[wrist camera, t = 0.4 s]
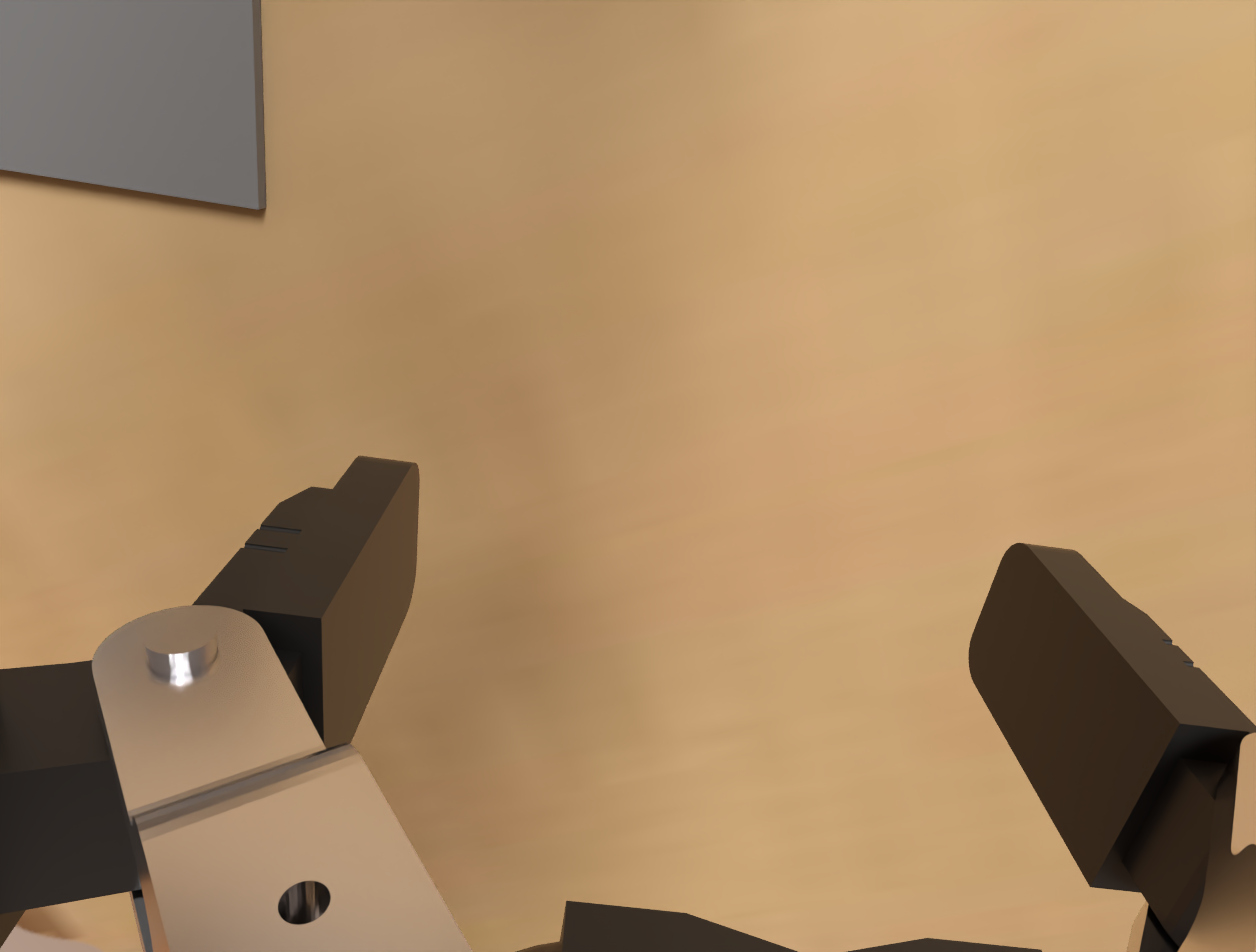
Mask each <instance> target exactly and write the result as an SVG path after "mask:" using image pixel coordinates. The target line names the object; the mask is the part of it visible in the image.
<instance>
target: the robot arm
mask: <svg viewBox="0 0 1256 952" xmlns="http://www.w3.org/2000/svg"><path fill="white" fill-rule="evenodd" d="M418 508H419V469H418V465H417V464H416V463H412V462H404V461H396V460H389V459H381V458H373V457H366V456H358V457H357V458H356V459H355V460H354V461H353V463H352V464H351V465H350V467H349V468H348V469H347V471H346V472H345V473H344V475H343V476H342V477H341V479H340V480H339V481H338V483H337V484H336V485H335V487H334V488H333V489H326V488H318V487H310V488H308V489H306V490H304V491H302V492H300V493H298V494H296V495H294V496H292V497H290V498H288V499H286V500H284V501H282V502H280V503H279V504H278V505H277V506H276V508H275V509H274V510H273V511H272V512H271V513H270V515H269V516H268V517H267V518H266V519H265V520H264V522H263V523H262V524H261V527H260V530H259V529H257V530H256V531H255V532H254V533H253V534H252V536H251V537H250V538H249V539H248V540H247V541H246V543H245V547H244V548H240V550H239V551H238V552H237V553H236V554H235V555H234V557H233V558H232V559H231V560H230V561H229V562H228V564H227V565H226V566H225V567H224V568H223V569H222V571H221V572H220V573H219V574H218V575H217V576H216V578H215V579H214V580H213V581H212V582H211V583H210V585H209V586H208V587H207V588H206V589H205V590H204V592H203V593H202V594H201V595H200V596H199V597H198V599H197V600H196V601H195V602H194V603H193V604H192V606H182V607H176V608H170V609H165V610H161V611H158V612H154V613H151V614H148V615H145V616H142V617H140V618H137V619H135V620H133V621H131V622H129V623H127V624H125V625H124V626H122V627H121V628H119V629H117V630H116V631H114V632H113V633H112V634H111V635H110V636H108V637H107V638H106V639H105V640H104V641H103V642H102V644H101V645H100V646H99V647H98V649H97V651H96V652H95V654H94V657H93V660H90V661H84V662H76V663H67V664H55V665H44V666H33V667H22V668H11V669H0V948H1V946H2V945H3V943H4V942H5V940H6V939H7V937H8V936H9V934H10V933H11V931H12V930H13V928H14V927H15V925H16V924H17V922H18V921H19V919H20V918H21V916H22V915H23V913H24V912H25V910H27V909H33V908H39V907H44V906H50V905H55V904H61V903H67V902H72V901H78V900H84V899H89V898H95V897H100V896H106V895H112V894H117V893H123V892H129V893H130V897H131V902H132V906H133V910H134V914H135V919H136V923H137V927H138V932H139V936H140V940H141V945H142V949H143V952H473V951H472V949H471V948H470V946H469V944H468V942H467V941H466V939H465V937H464V935H463V934H462V932H461V930H460V928H459V927H458V925H457V923H456V921H455V920H454V918H453V916H452V914H451V913H450V911H449V909H448V907H447V906H446V904H445V902H444V900H443V899H442V897H441V895H440V893H439V892H438V890H437V888H436V886H435V885H434V883H433V881H432V879H431V877H430V876H429V874H428V872H427V870H426V869H425V867H424V865H423V863H422V862H421V860H420V858H419V856H418V855H417V853H416V851H415V849H414V848H413V846H412V844H411V842H410V841H409V839H408V837H407V835H406V834H405V832H404V830H403V828H402V827H401V825H400V823H399V821H398V820H397V818H396V816H395V814H394V813H393V811H392V809H391V807H390V806H389V804H388V802H387V800H386V799H385V797H384V795H383V793H382V792H381V790H380V788H379V786H378V784H377V783H376V781H375V779H374V777H373V776H372V774H371V772H370V770H369V769H368V767H367V765H366V763H365V762H364V760H363V758H362V757H361V755H360V754H359V752H358V751H357V750H356V749H355V747H353V746H352V745H351V744H350V743H351V741H352V738H353V736H354V734H355V732H356V729H357V727H358V725H359V722H360V720H361V718H362V715H363V713H364V711H365V708H366V706H367V704H368V702H369V699H370V697H371V695H372V692H373V690H374V688H375V685H376V683H377V681H378V679H379V676H380V674H381V672H382V669H383V667H384V665H385V662H386V660H387V658H388V655H389V653H390V651H391V649H392V646H393V644H394V642H395V639H396V637H397V635H398V632H399V630H400V628H401V625H402V623H403V621H404V619H405V616H406V614H407V611H408V608H409V605H410V602H411V598H412V593H413V588H414V582H415V575H416V561H417V534H418ZM1193 663H1194V662H1193V661H1192V660H1191V659H1190V658H1189V657H1188V656H1187V655H1186V654H1185V653H1184V652H1183V651H1182V650H1181V649H1180V648H1179V647H1178V646H1175V645H1172V640H1171V638H1170V637H1169V636H1168V635H1167V634H1166V633H1165V632H1164V631H1163V630H1162V629H1161V628H1160V627H1159V626H1158V625H1157V624H1156V623H1155V622H1154V621H1153V620H1152V619H1151V618H1150V617H1149V616H1148V615H1147V614H1146V613H1144V612H1143V611H1141V610H1140V609H1138V608H1137V607H1135V606H1134V605H1132V604H1131V603H1129V602H1128V601H1126V600H1124V599H1123V598H1122V597H1121V596H1120V595H1119V594H1118V593H1117V592H1116V591H1115V590H1114V589H1113V588H1112V587H1111V586H1110V585H1109V584H1108V583H1107V582H1106V581H1105V579H1104V578H1103V577H1102V576H1101V575H1100V574H1099V573H1098V572H1097V571H1096V570H1095V569H1094V568H1093V567H1092V566H1091V565H1090V564H1089V563H1088V562H1087V561H1086V560H1085V559H1084V558H1083V556H1082V555H1081V554H1079V553H1078V552H1077V551H1074V550H1070V549H1062V548H1054V547H1047V546H1039V545H1031V544H1024V543H1016V544H1014V545H1012V546H1011V547H1010V548H1009V549H1008V550H1007V551H1006V552H1005V554H1004V556H1003V558H1002V560H1001V562H1000V565H999V567H998V570H997V573H996V575H995V578H994V580H993V583H992V585H991V588H990V591H989V593H988V596H987V598H986V601H985V603H984V606H983V609H982V611H981V614H980V616H979V619H978V621H977V624H976V627H975V629H974V632H973V634H972V637H971V641H970V647H969V668H970V673H971V677H972V680H973V682H974V684H975V686H976V688H977V689H978V691H979V693H980V695H981V696H982V698H983V700H984V702H985V703H986V705H987V707H988V709H989V710H990V712H991V714H992V716H993V718H994V719H995V721H996V723H997V725H998V726H999V728H1000V730H1001V732H1002V733H1003V735H1004V737H1005V739H1006V740H1007V742H1008V744H1009V746H1010V747H1011V749H1012V751H1013V753H1014V754H1015V756H1016V758H1017V760H1018V761H1019V763H1020V765H1021V767H1022V768H1023V770H1024V772H1025V774H1026V775H1027V777H1028V779H1029V781H1030V782H1031V784H1032V786H1033V788H1034V789H1035V791H1036V793H1037V795H1038V796H1039V798H1040V800H1041V802H1042V803H1043V805H1044V807H1045V809H1046V810H1047V812H1048V814H1049V816H1050V817H1051V819H1052V821H1053V823H1054V824H1055V826H1056V828H1057V830H1058V832H1059V833H1060V835H1061V837H1062V839H1063V840H1064V842H1065V844H1066V846H1067V847H1068V849H1069V851H1070V853H1071V854H1072V856H1073V858H1074V860H1075V861H1076V863H1077V865H1078V867H1079V868H1080V870H1081V872H1082V874H1083V875H1084V877H1085V879H1086V881H1087V882H1088V884H1089V886H1090V887H1095V888H1104V889H1113V890H1123V891H1132V892H1141V893H1142V894H1143V896H1144V898H1145V899H1146V902H1145V903H1144V905H1143V907H1142V908H1141V910H1140V912H1139V913H1138V915H1137V917H1136V918H1135V920H1134V923H1133V925H1132V929H1131V934H1130V938H1129V943H1128V947H1127V952H1256V726H1255V725H1254V724H1253V723H1252V722H1251V721H1250V720H1249V719H1248V718H1247V717H1246V716H1245V715H1244V713H1243V712H1242V711H1241V710H1240V709H1239V708H1238V707H1237V706H1236V705H1235V704H1234V703H1233V702H1232V701H1231V700H1230V699H1229V698H1228V697H1227V696H1226V695H1225V694H1224V693H1223V692H1222V691H1221V690H1220V689H1219V688H1218V687H1217V686H1216V685H1215V684H1214V683H1213V682H1212V681H1211V680H1210V679H1209V678H1208V677H1207V675H1206V674H1205V673H1204V672H1203V671H1202V670H1201V669H1200V668H1196V667H1193ZM516 952H797V951H794V950H792V949H789V948H786V947H783V946H780V945H777V944H774V943H771V942H768V941H765V940H762V939H760V938H757V937H754V936H751V935H748V934H745V933H742V932H739V931H736V930H733V929H730V928H728V927H725V926H722V925H719V924H716V923H713V922H710V921H707V920H704V919H701V918H698V917H696V916H693V915H690V914H687V913H680V912H670V911H660V910H650V909H641V908H631V907H621V906H612V905H602V904H592V903H583V902H573V901H566V907H565V913H564V919H563V925H562V932H561V938H560V942H555V943H549V944H543V945H537V946H533V947H530V948H527V949H523V950H520V951H516ZM848 952H1042V951H1041V950H1038V949H1028V948H1018V947H1009V946H999V945H989V944H980V943H970V942H960V941H951V940H941V939H931V938H925V939H919V940H913V941H907V942H901V943H895V944H889V945H883V946H878V947H872V948H866V949H860V950H854V951H848Z"/></svg>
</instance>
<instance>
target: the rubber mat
mask: <svg viewBox="0 0 1256 952" xmlns="http://www.w3.org/2000/svg"><path fill="white" fill-rule="evenodd" d="M0 169H2V170H8V171H15V172H21V173H27V174H34V175H40V176H46V177H53V178H59V179H66V180H72V181H78V182H85V183H91V184H98V185H104V186H110V187H117V188H123V189H129V190H136V191H142V192H149V193H155V194H161V195H168V196H174V197H180V198H187V199H193V200H200V201H206V202H212V203H219V204H225V205H232V206H238V207H244V208H251V209H257V210H259V209H263V208H266V186H265V149H264V113H263V76H262V40H261V3H260V0H0Z"/></svg>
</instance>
